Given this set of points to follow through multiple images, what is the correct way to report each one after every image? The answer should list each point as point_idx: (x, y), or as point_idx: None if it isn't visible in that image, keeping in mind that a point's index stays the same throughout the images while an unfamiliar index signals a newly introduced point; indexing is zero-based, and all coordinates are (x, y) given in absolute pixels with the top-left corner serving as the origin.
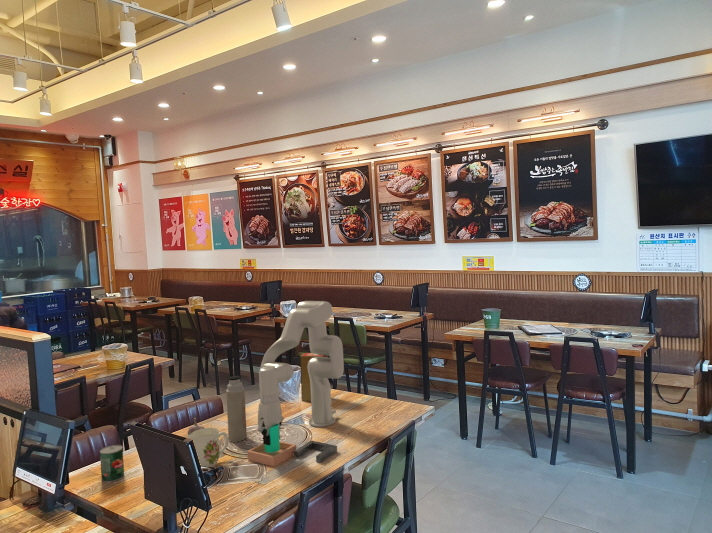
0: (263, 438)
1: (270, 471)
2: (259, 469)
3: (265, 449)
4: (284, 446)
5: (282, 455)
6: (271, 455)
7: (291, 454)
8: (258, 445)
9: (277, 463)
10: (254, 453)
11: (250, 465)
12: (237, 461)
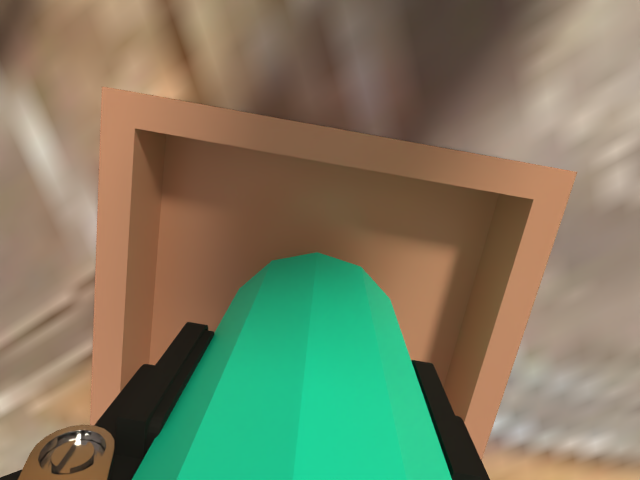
0: (114, 402)
1: (43, 429)
2: (30, 329)
3: (236, 296)
4: (455, 390)
5: None
6: None
7: None
8: (324, 134)
9: None
10: (100, 218)
11: (57, 206)
12: (72, 2)
